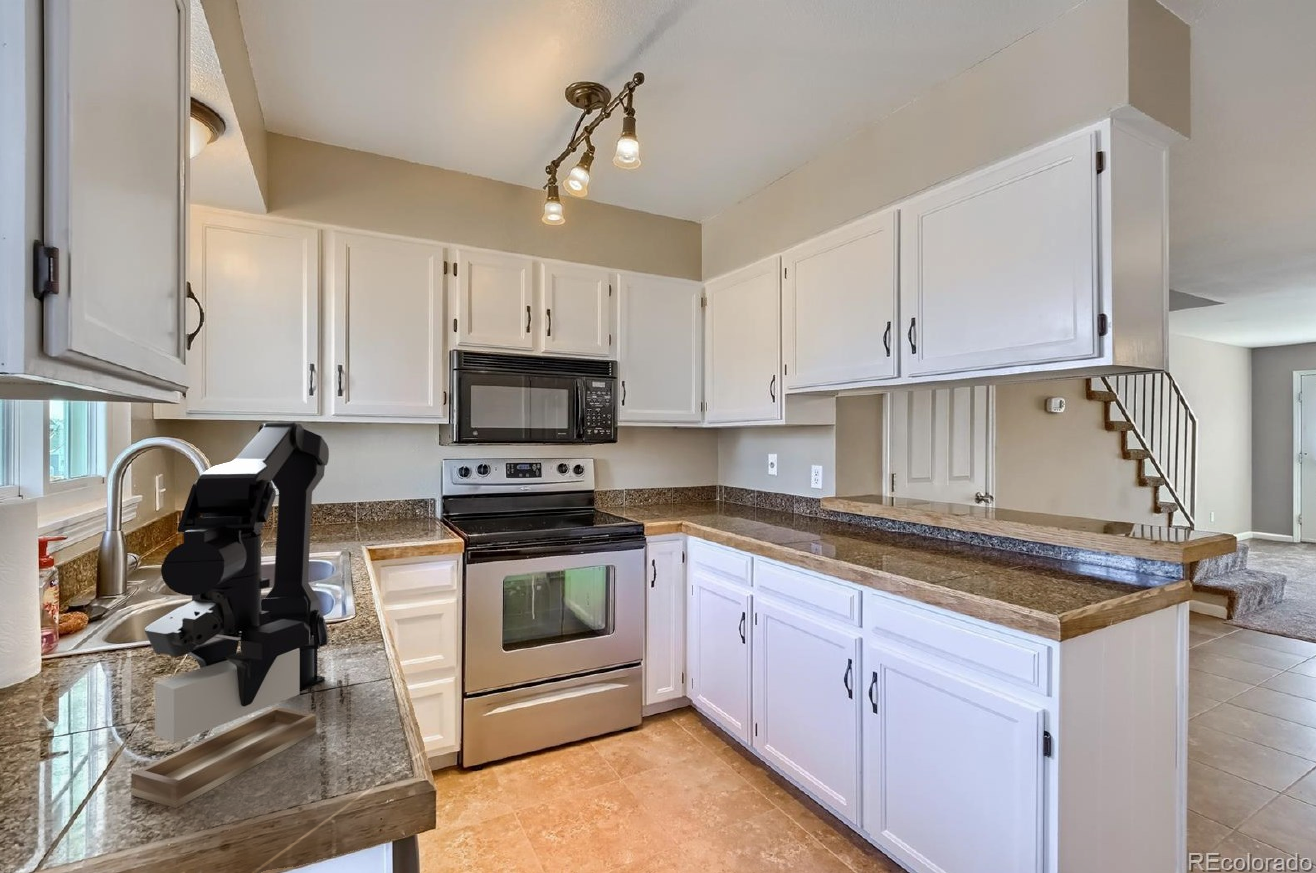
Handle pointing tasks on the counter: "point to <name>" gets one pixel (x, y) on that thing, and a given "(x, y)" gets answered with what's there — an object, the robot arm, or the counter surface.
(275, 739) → the brown rectangular tray
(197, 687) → the white rectangular block
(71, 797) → the counter surface
